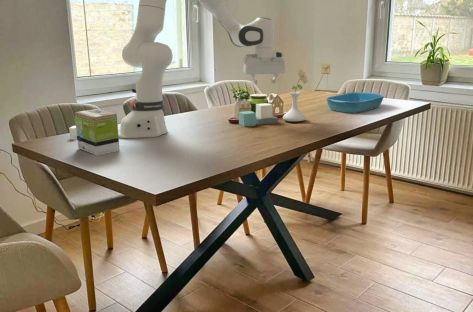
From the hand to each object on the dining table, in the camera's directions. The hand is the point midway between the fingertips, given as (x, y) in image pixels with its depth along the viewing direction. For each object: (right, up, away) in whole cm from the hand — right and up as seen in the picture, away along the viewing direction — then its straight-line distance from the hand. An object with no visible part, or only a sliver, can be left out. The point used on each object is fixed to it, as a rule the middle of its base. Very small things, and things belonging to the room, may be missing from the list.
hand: (264, 83), depth 229 cm
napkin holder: (-81, -26, -20) cm, 88 cm away
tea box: (-66, -32, -44) cm, 85 cm away
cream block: (0, -15, +4) cm, 16 cm away
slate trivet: (0, -18, +5) cm, 18 cm away
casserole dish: (+52, -8, +39) cm, 65 cm away
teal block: (-8, -20, -1) cm, 21 cm away
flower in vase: (+16, -17, +7) cm, 24 cm away
